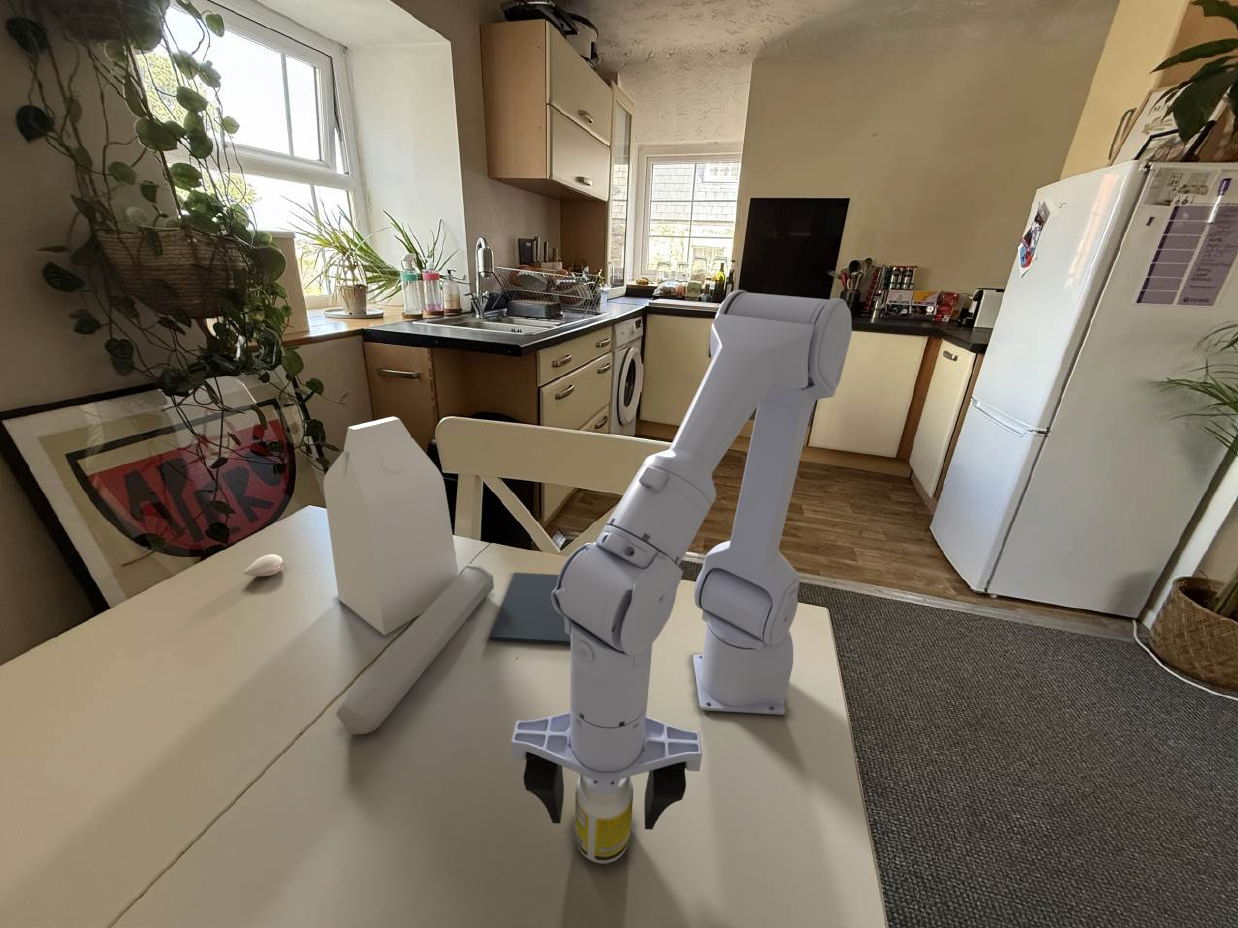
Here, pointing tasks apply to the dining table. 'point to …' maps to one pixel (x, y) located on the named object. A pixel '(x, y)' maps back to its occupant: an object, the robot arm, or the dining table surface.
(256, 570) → the white garlic clove
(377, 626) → the milk
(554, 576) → the mat
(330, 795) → the dining table surface
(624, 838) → the supplement bottle
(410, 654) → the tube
